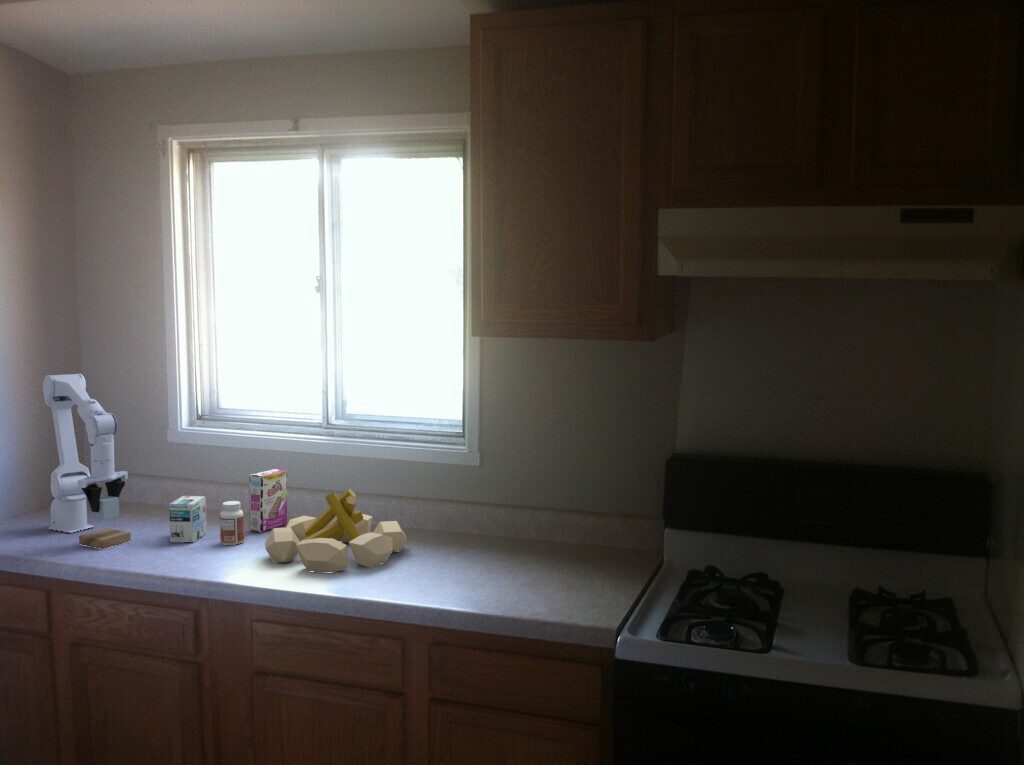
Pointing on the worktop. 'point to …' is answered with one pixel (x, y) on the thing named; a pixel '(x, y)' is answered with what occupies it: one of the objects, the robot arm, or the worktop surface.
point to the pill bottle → (231, 523)
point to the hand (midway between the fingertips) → (104, 509)
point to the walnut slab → (104, 538)
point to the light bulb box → (187, 518)
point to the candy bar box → (268, 500)
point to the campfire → (335, 538)
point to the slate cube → (107, 508)
